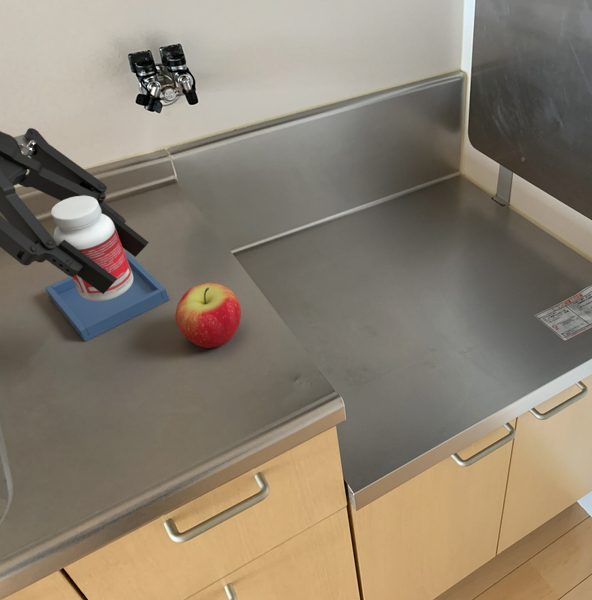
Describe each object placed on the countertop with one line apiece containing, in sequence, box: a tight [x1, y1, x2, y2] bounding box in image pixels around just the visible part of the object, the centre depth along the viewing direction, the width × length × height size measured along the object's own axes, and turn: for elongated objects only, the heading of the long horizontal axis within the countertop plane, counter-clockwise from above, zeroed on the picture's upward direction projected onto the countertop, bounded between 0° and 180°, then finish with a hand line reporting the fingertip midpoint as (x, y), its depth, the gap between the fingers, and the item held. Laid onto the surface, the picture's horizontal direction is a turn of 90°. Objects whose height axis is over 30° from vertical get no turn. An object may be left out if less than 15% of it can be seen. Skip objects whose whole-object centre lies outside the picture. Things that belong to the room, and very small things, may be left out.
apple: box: [174, 282, 242, 349], centre depth 81 cm, size 8×8×10 cm
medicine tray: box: [44, 251, 170, 342], centre depth 90 cm, size 13×13×2 cm
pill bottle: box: [50, 196, 133, 301], centre depth 69 cm, size 6×6×11 cm
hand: (126, 267), depth 70 cm, fingers closed on pill bottle, 6 cm apart
